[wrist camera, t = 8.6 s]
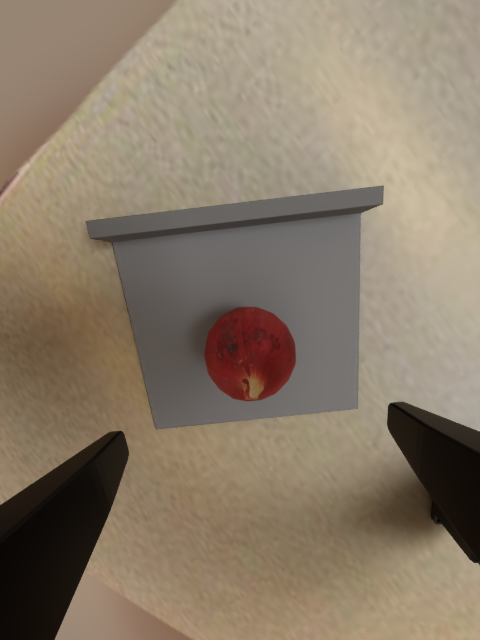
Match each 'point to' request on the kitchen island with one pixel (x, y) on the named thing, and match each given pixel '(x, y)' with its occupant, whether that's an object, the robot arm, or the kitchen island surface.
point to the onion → (250, 353)
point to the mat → (244, 297)
